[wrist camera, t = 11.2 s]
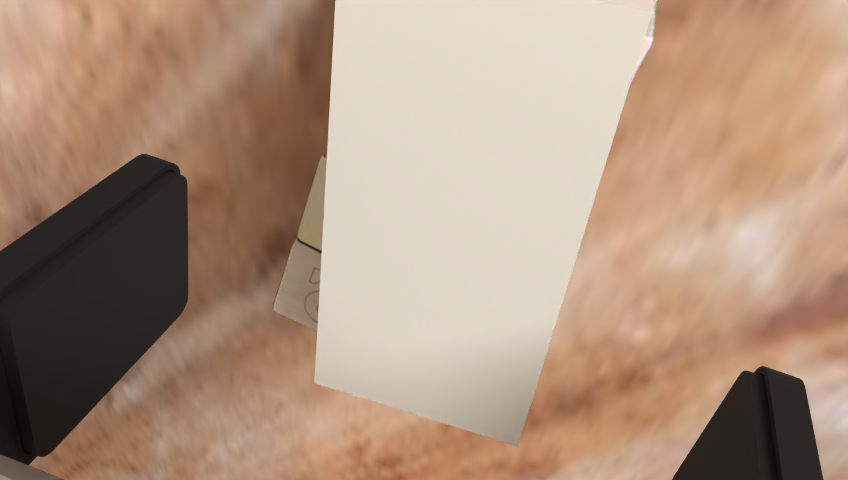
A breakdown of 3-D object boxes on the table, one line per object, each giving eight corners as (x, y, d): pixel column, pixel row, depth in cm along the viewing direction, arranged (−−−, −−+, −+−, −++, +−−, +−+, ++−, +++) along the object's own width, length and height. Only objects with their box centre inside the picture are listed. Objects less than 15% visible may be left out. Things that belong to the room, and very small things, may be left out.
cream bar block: (656, -59, 14) (652, 12, 10) (549, 301, 19) (517, 446, 15) (430, -103, 14) (338, -54, 10) (387, 256, 19) (314, 382, 15)
